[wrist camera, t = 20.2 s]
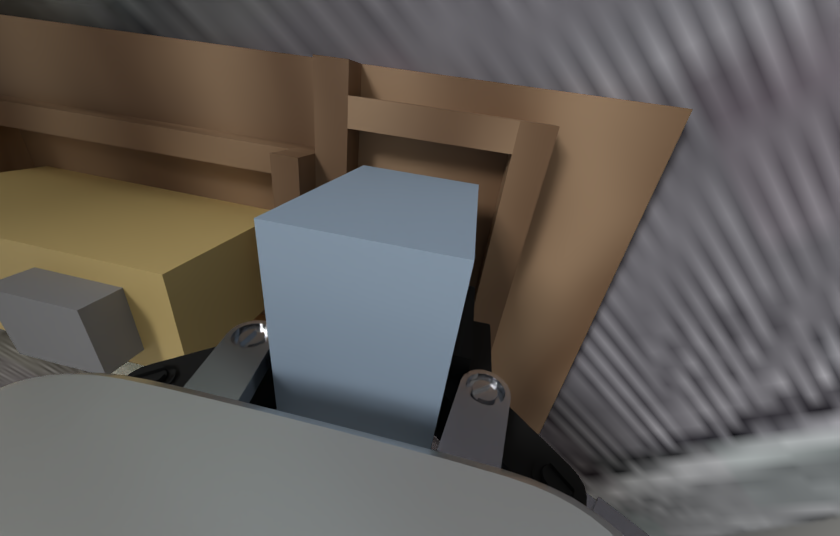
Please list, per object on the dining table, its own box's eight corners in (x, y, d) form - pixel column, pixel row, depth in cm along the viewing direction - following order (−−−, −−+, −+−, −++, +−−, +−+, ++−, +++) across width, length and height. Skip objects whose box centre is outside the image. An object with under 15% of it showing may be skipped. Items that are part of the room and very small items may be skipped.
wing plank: (354, 374, 16) (289, 509, 10) (363, 165, 11) (253, 218, 6) (434, 393, 15) (408, 543, 10) (478, 184, 11) (474, 260, 5)
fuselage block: (77, 242, 17) (-161, 321, 11) (47, 166, 15) (-262, 207, 9) (287, 288, 16) (158, 406, 10) (281, 212, 14) (118, 296, 8)
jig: (102, 318, 21) (43, 351, 18) (-25, 12, 13) (-160, -13, 11) (536, 421, 18) (546, 478, 15) (678, 109, 11) (748, 109, 8)
